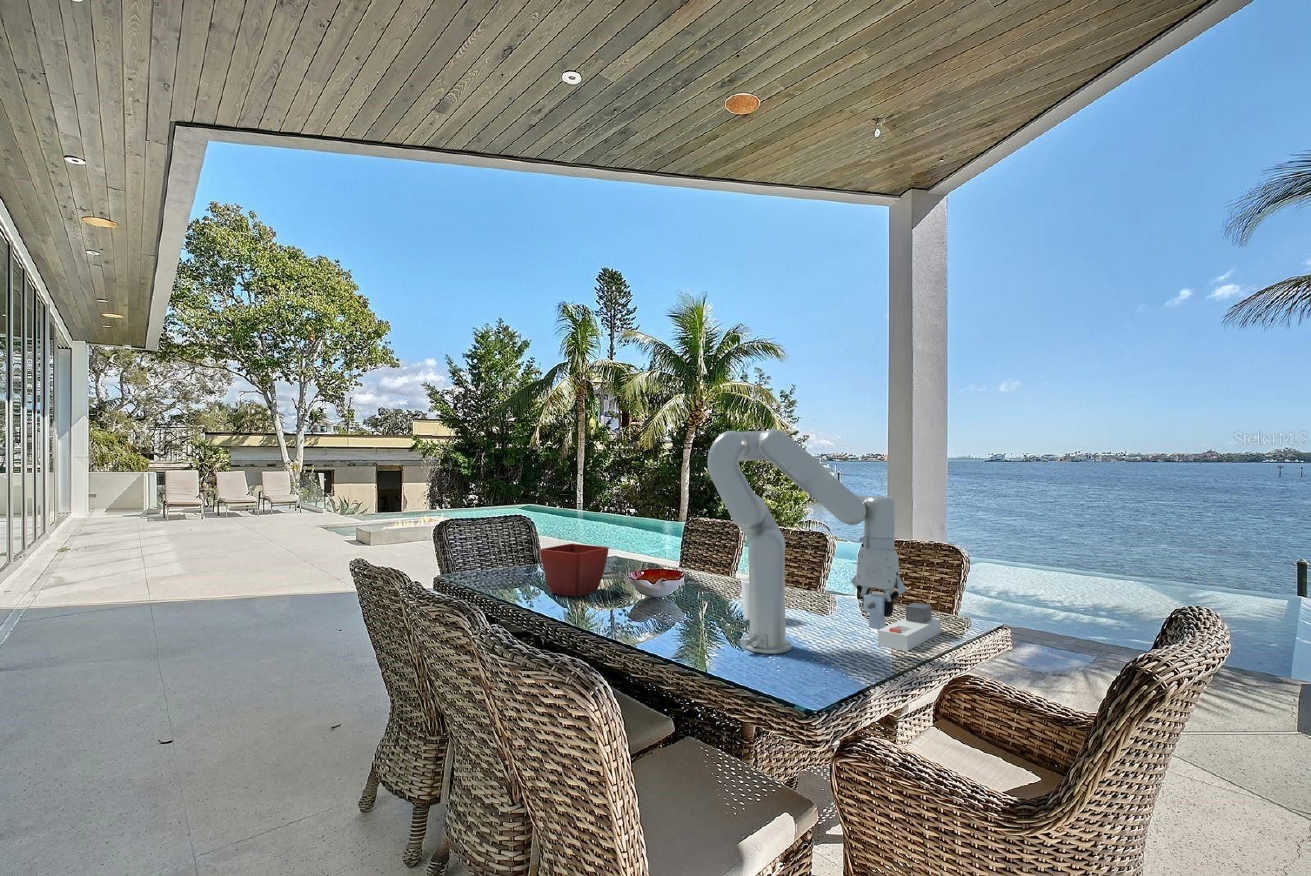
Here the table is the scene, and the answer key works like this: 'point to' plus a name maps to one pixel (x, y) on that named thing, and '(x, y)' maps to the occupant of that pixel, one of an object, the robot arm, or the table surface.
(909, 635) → the power strip
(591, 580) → the plant pot
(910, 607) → the dark grey block
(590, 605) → the table surface
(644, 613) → the table surface
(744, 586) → the candle holder
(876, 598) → the grey plug
